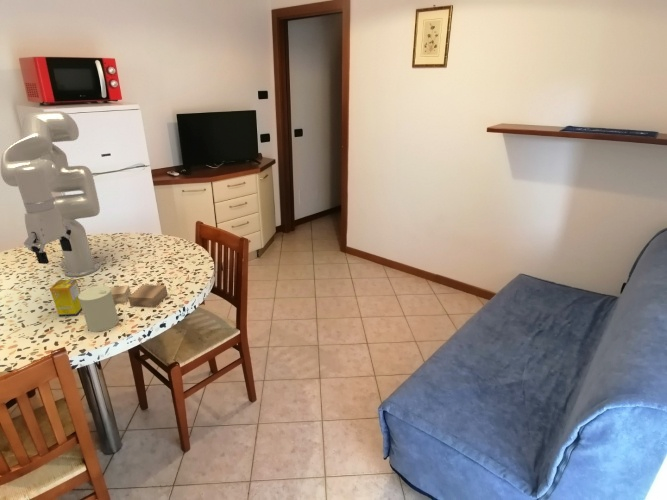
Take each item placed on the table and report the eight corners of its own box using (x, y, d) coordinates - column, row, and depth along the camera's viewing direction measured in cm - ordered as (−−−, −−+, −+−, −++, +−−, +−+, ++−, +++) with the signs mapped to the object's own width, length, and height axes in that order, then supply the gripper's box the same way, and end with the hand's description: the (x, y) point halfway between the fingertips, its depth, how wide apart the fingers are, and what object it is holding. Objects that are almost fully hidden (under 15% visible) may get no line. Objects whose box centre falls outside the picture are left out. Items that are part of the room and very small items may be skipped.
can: (112, 331, 128) (103, 297, 123) (81, 332, 128) (71, 299, 123) (123, 315, 137) (115, 283, 132) (95, 316, 136) (85, 285, 131)
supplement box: (67, 307, 142) (58, 279, 137) (85, 306, 142) (77, 278, 138) (58, 317, 136) (48, 288, 132) (77, 316, 137) (68, 287, 132)
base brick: (130, 307, 142) (128, 297, 140) (144, 294, 150) (142, 284, 149) (154, 308, 141) (152, 298, 139) (167, 295, 149) (165, 285, 148)
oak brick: (108, 305, 143) (106, 295, 142) (113, 296, 149) (110, 287, 147) (127, 303, 144) (124, 293, 143) (131, 294, 150) (128, 285, 148)
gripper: (51, 197, 133) (66, 246, 140) (4, 214, 117) (23, 267, 124) (72, 198, 132) (85, 247, 138) (26, 215, 116) (44, 269, 123)
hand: (56, 256), depth 131 cm, fingers open, 9 cm apart
